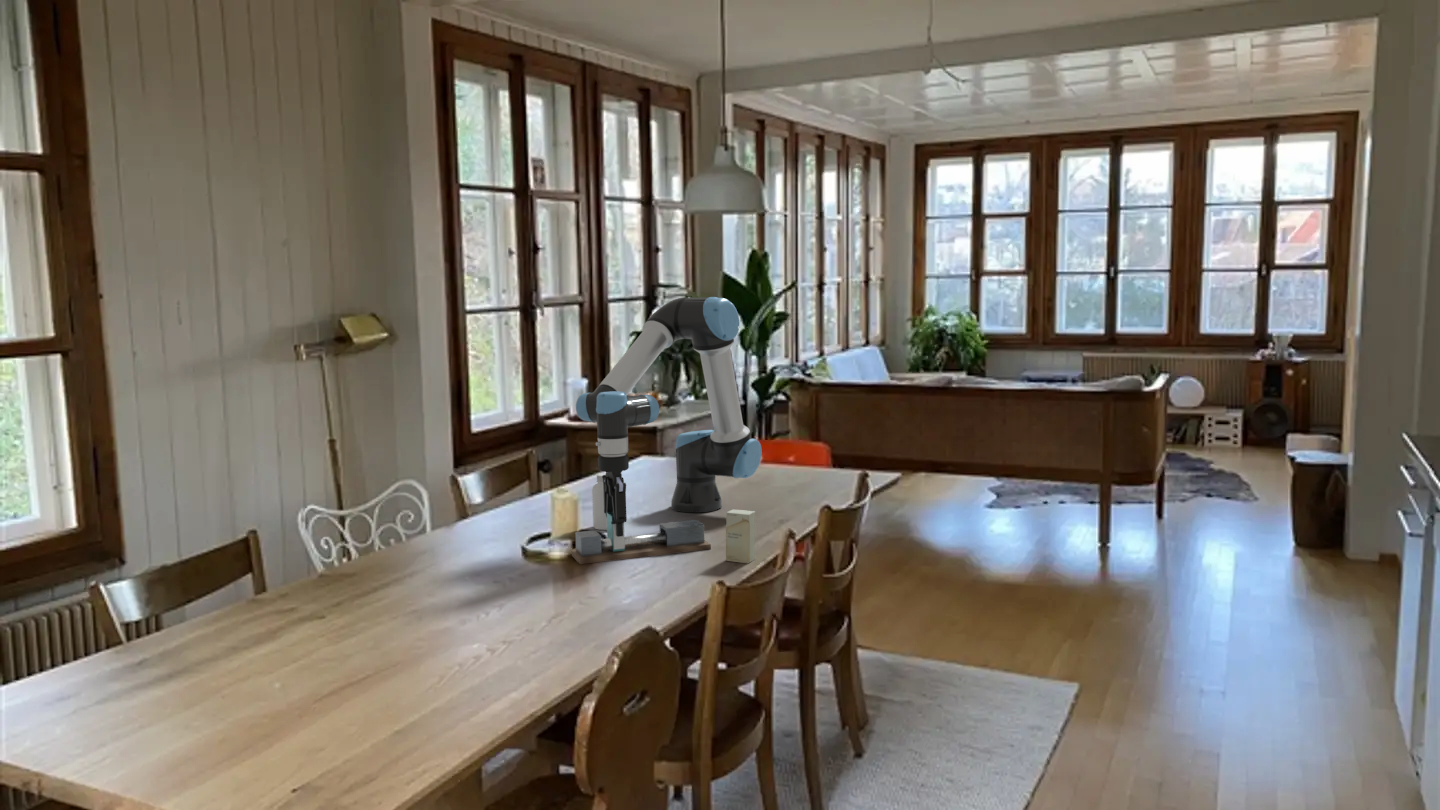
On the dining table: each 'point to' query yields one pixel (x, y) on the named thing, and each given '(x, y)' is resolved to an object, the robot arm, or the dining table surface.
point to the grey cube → (588, 543)
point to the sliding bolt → (630, 538)
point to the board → (639, 552)
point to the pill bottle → (599, 504)
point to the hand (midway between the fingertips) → (616, 545)
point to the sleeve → (683, 532)
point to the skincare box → (740, 536)
